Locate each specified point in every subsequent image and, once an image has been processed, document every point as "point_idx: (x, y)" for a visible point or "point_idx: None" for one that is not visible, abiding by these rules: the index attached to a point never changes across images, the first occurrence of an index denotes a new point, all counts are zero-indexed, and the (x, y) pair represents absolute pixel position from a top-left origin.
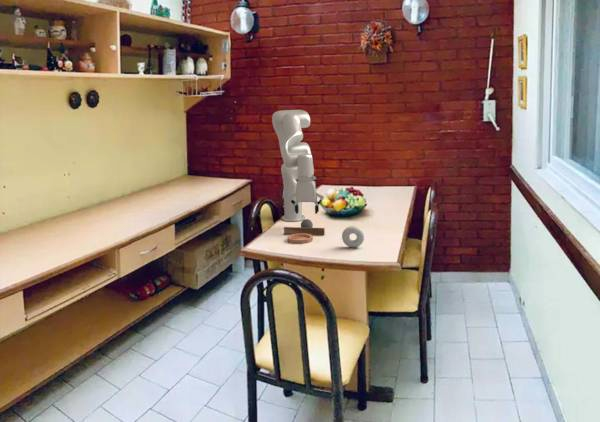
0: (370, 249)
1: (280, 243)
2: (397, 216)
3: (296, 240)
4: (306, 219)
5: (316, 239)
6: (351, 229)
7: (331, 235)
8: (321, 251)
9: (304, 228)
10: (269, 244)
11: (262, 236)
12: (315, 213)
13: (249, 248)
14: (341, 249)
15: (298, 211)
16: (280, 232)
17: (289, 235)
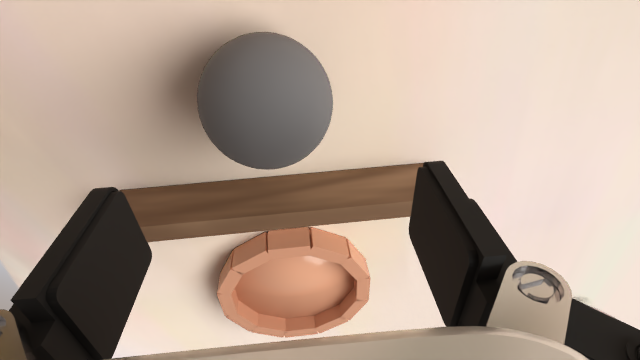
0: (620, 308)
1: (210, 326)
2: None
3: (295, 334)
4: (265, 140)
5: (385, 249)
6: None
7: (484, 164)
8: None
9: (290, 226)
10: (165, 344)
11: (7, 262)
12: (412, 231)
13: None
14: None
15: (118, 208)
16: (54, 159)
17: (220, 293)
